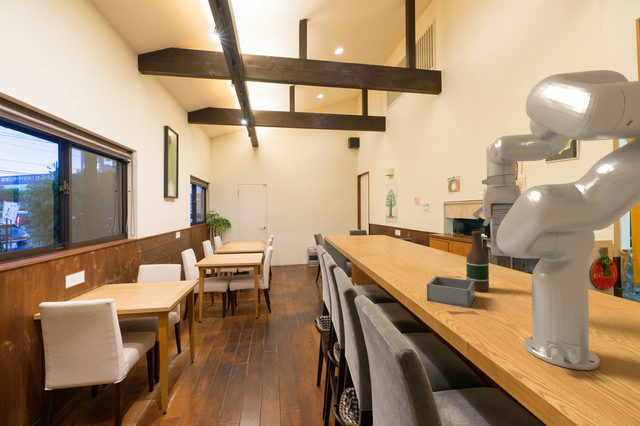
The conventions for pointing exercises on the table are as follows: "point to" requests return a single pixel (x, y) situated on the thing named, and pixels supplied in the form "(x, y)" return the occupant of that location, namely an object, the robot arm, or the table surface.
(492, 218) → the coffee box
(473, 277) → the beer bottle
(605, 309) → the table surface
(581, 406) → the table surface
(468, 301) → the bin
